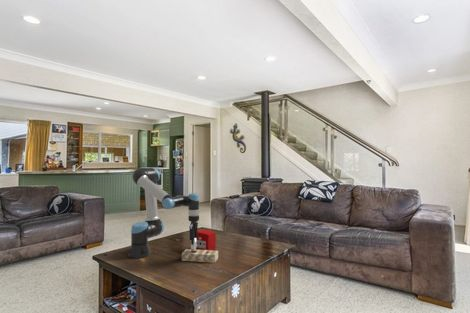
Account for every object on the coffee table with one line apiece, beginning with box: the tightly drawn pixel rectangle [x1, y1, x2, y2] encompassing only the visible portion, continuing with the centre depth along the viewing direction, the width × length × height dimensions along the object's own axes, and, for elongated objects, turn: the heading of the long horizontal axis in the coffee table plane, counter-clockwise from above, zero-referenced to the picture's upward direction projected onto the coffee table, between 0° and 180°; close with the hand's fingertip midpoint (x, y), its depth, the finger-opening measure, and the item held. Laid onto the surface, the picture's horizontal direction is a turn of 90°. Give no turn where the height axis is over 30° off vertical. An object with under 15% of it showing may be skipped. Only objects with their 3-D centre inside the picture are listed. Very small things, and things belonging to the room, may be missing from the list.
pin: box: [190, 237, 196, 253], centre depth 198 cm, size 4×4×12 cm
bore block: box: [181, 248, 219, 264], centre depth 197 cm, size 24×10×5 cm, turn 81°
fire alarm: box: [196, 229, 217, 251], centre depth 217 cm, size 16×11×15 cm
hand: (193, 247), depth 198 cm, fingers closed on pin, 3 cm apart
